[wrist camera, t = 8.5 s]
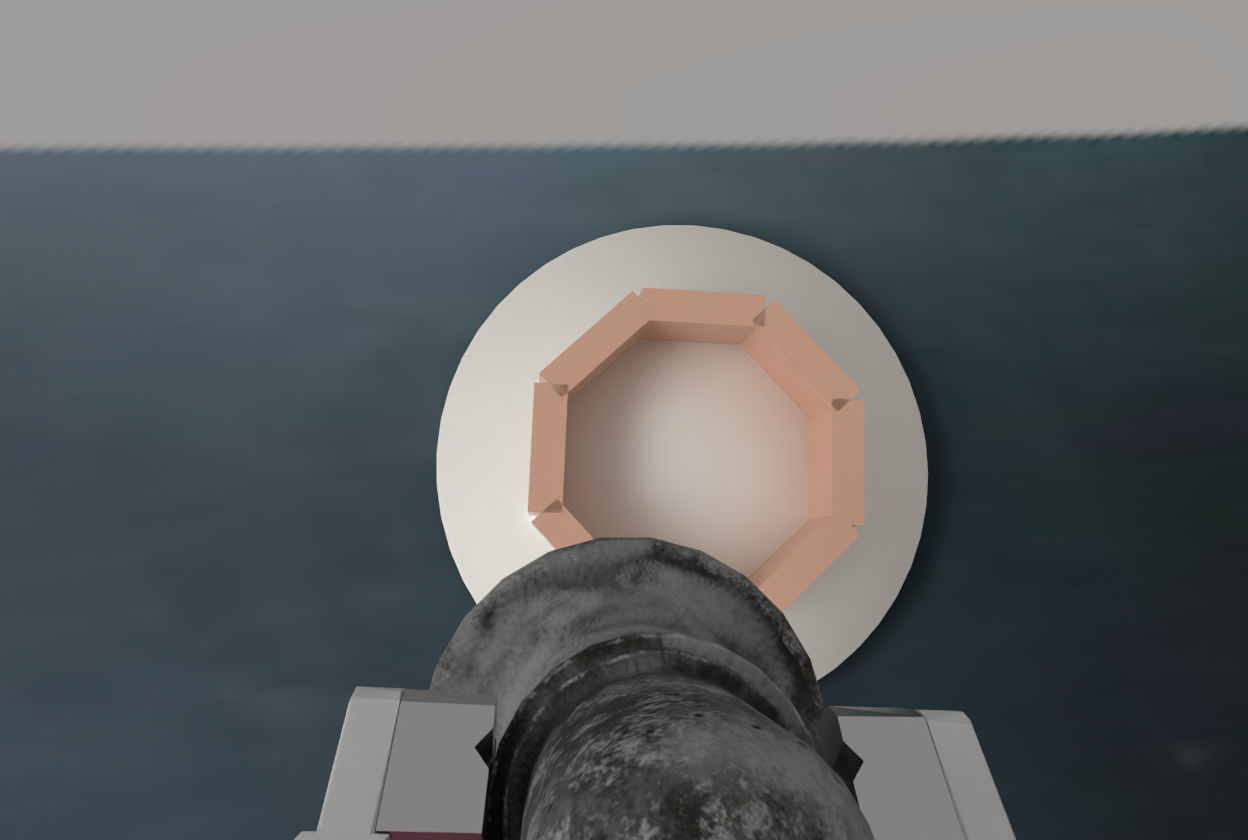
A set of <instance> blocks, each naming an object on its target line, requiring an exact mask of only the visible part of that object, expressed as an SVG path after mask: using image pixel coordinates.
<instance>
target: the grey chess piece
mask: <svg viewBox="0 0 1248 840" xmlns="http://www.w3.org/2000/svg"><path fill="white" fill-rule="evenodd" d="M429 690H431V691H447V692H464V693H480V694H496V695H497V723H496V734H495V738H496V739H497V744H496V757H495V761H494V765H493V769H492V773H491V777H490V780H489V808H488V817H487V836H488V838H487V840H875V839H874V836H873V833H872V831H871V828H870V826H869V823H868V822H867V820H866V818H865V816H864V815H863V813H862V811H861V810H860V808H859V806H858V804H857V803H856V801H855V799H854V798H853V796H852V794H851V793H850V791H849V789H848V787H847V786H846V784H845V782H844V781H843V779H842V778H841V777H840V776H839V775H838V774H837V773H836V772H835V771H834V770H833V769H832V768H831V767H830V766H829V765H828V764H827V763H826V762H825V761H824V760H823V759H822V758H821V757H820V756H819V755H818V753H817V750H816V746H817V745H818V744H820V743H821V739H820V735H819V730H818V724H819V721H820V718H821V716H822V713H823V711H824V710H825V707H824V703H823V700H822V696H821V693H820V690H819V686H818V683H817V679H816V676H815V673H814V669H813V666H812V662H811V659H810V657H809V656H808V654H807V652H806V651H805V649H804V647H803V646H802V644H801V642H800V641H799V639H798V637H797V635H796V634H795V632H794V630H793V629H792V627H791V625H790V624H789V622H788V620H787V619H786V617H785V615H784V614H783V612H781V611H780V610H779V609H778V608H777V607H776V606H775V605H774V604H773V603H772V602H771V601H770V600H769V599H768V598H767V597H766V596H765V595H764V594H763V593H762V592H761V591H760V590H759V589H758V588H757V587H756V586H755V585H754V584H753V583H752V582H751V581H750V580H749V579H748V578H747V577H746V576H744V575H743V574H741V573H739V572H737V571H736V570H734V569H732V568H731V567H729V566H727V565H725V564H724V563H722V562H720V561H718V560H717V559H715V558H713V557H711V556H710V555H708V554H706V553H704V552H703V551H701V550H697V549H693V548H689V547H685V546H682V545H678V544H674V543H670V542H667V541H663V540H659V539H655V538H651V537H641V538H597V539H593V540H589V541H586V542H582V543H579V544H575V545H571V546H568V547H564V548H561V549H557V550H553V551H550V552H547V553H546V554H544V555H542V556H541V557H539V558H537V559H536V560H534V561H532V562H530V563H529V564H527V565H525V566H524V567H522V568H520V569H519V570H517V571H515V572H513V573H512V574H510V575H508V576H507V577H505V578H503V579H502V580H501V581H500V582H499V583H498V584H497V585H496V586H495V587H494V588H493V589H492V590H491V591H490V592H489V593H488V594H487V595H486V596H485V597H484V598H483V599H482V600H481V601H480V602H479V603H478V604H477V605H476V606H475V607H474V608H473V609H472V610H471V611H470V612H469V613H468V614H467V615H466V616H465V617H464V619H463V620H462V622H461V624H460V625H459V627H458V629H457V631H456V632H455V634H454V636H453V637H452V639H451V641H450V643H449V644H448V646H447V648H446V649H445V651H444V653H443V655H442V656H441V658H440V660H439V661H438V663H437V665H436V668H435V671H434V675H433V678H432V682H431V685H430V689H429Z"/></svg>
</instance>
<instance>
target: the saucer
mask: <svg viewBox="0 0 1248 840" xmlns="http://www.w3.org/2000/svg"><path fill="white" fill-rule="evenodd" d="M927 485H928V466H927V452H926V441H925V436H924V431H923V426H922V421H921V416H920V411H919V409H918V406H917V403H916V400H915V397H914V394H913V391H912V388H911V385H910V382H909V380H908V378H907V376H906V374H905V371H904V369H903V367H902V365H901V363H900V361H899V359H898V357H897V355H896V353H895V351H894V350H893V348H892V347H891V345H890V344H889V342H888V341H887V339H886V337H885V336H884V334H883V333H882V331H881V330H880V328H879V327H878V326H877V324H876V323H875V322H874V321H873V320H872V318H871V317H870V316H869V315H868V314H867V312H866V311H865V310H864V309H863V308H862V306H861V305H860V304H859V303H858V302H857V301H856V300H855V299H854V298H853V297H852V296H851V295H849V294H848V293H847V292H846V291H845V290H844V289H843V288H842V287H841V286H840V285H839V284H838V283H837V282H835V281H834V280H833V279H831V278H830V277H828V276H827V275H826V274H824V273H823V272H822V271H820V270H819V269H817V268H816V267H815V266H813V265H812V264H810V263H809V262H807V261H805V260H803V259H801V258H800V257H798V256H796V255H794V254H792V253H791V252H789V251H787V250H785V249H783V248H781V247H778V246H776V245H773V244H771V243H768V242H766V241H763V240H761V239H758V238H756V237H752V236H748V235H744V234H741V233H737V232H733V231H729V230H725V229H718V228H710V227H703V226H695V225H662V226H654V227H646V228H638V229H631V230H627V231H623V232H619V233H615V234H612V235H608V236H604V237H601V238H598V239H596V240H593V241H591V242H588V243H586V244H583V245H581V246H578V247H576V248H573V249H572V250H570V251H568V252H566V253H564V254H563V255H561V256H559V257H557V258H556V259H554V260H552V261H550V262H548V263H547V264H545V265H544V266H542V267H541V268H540V269H538V270H537V271H536V272H534V273H533V274H532V275H530V276H529V277H528V278H526V279H525V280H524V281H522V282H521V283H520V284H519V285H518V286H517V287H516V288H515V289H514V290H513V291H512V292H511V293H510V294H509V295H508V296H507V297H506V298H505V299H504V300H503V301H502V302H501V303H500V304H499V305H498V306H497V307H496V308H495V310H494V311H493V312H492V313H491V315H490V316H489V317H488V318H487V320H486V321H485V322H484V324H483V325H482V326H481V327H480V329H479V330H478V332H477V333H476V335H475V337H474V338H473V340H472V342H471V344H470V345H469V347H468V349H467V350H466V352H465V354H464V355H463V357H462V359H461V362H460V364H459V366H458V369H457V371H456V374H455V376H454V378H453V381H452V383H451V385H450V388H449V392H448V395H447V399H446V403H445V406H444V410H443V414H442V417H441V423H440V431H439V438H438V446H437V490H438V497H439V505H440V512H441V519H442V522H443V526H444V530H445V533H446V537H447V541H448V544H449V548H450V551H451V553H452V556H453V558H454V560H455V563H456V565H457V568H458V570H459V572H460V575H461V577H462V579H463V581H464V583H465V585H466V587H467V588H468V590H469V592H470V593H471V595H472V597H473V598H474V600H475V602H476V604H478V603H479V602H480V601H481V600H482V599H483V598H484V597H485V596H486V595H487V594H488V593H489V592H490V591H491V590H492V589H493V588H494V587H495V586H496V585H497V584H498V583H499V582H500V581H501V580H502V579H503V578H505V577H507V576H508V575H510V574H512V573H513V572H515V571H517V570H519V569H520V568H522V567H524V566H525V565H527V564H529V563H530V562H532V561H534V560H536V559H537V558H539V557H541V556H542V555H544V554H546V553H547V552H550V551H553V550H557V549H561V548H564V547H568V546H571V545H575V544H579V543H582V542H586V541H589V540H593V539H597V538H641V537H651V538H655V539H659V540H663V541H667V542H670V543H674V544H678V545H682V546H685V547H689V548H693V549H697V550H701V551H703V552H704V553H706V554H708V555H710V556H711V557H713V558H715V559H717V560H718V561H720V562H722V563H724V564H725V565H727V566H729V567H731V568H732V569H734V570H736V571H737V572H739V573H741V574H743V575H744V576H746V577H747V578H748V579H749V580H750V581H751V582H752V583H753V584H754V585H755V586H756V587H757V588H758V589H759V590H760V591H761V592H762V593H763V594H764V595H765V596H766V597H767V598H768V599H769V600H770V601H771V602H772V603H773V604H774V605H775V606H776V607H777V608H778V609H779V610H780V611H781V612H783V614H784V615H785V617H786V619H787V620H788V622H789V624H790V625H791V627H792V629H793V630H794V632H795V634H796V635H797V637H798V639H799V641H800V642H801V644H802V646H803V647H804V649H805V651H806V652H807V654H808V656H809V657H810V659H811V662H812V666H813V669H814V673H815V676H816V679H817V680H819V679H820V678H822V677H823V676H825V675H826V674H828V673H829V672H831V671H832V670H834V669H835V668H836V667H837V666H838V665H840V664H841V663H842V662H843V661H844V660H845V659H846V658H847V657H849V656H850V655H851V654H852V653H853V652H854V651H855V650H856V649H858V648H859V647H860V645H861V644H862V643H863V642H864V641H865V640H866V638H867V637H868V636H869V635H870V634H871V633H872V631H873V630H874V629H875V628H876V627H877V626H878V624H879V623H880V622H881V620H882V619H883V617H884V616H885V614H886V612H887V611H888V609H889V608H890V606H891V605H892V603H893V602H894V600H895V599H896V597H897V595H898V593H899V591H900V589H901V587H902V585H903V583H904V581H905V579H906V576H907V574H908V572H909V570H910V568H911V565H912V562H913V559H914V556H915V553H916V550H917V547H918V544H919V540H920V537H921V532H922V527H923V521H924V516H925V511H926V504H927Z"/></svg>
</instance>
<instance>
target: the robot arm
mask: <svg viewBox="0 0 1248 840" xmlns="http://www.w3.org/2000/svg"><path fill="white" fill-rule="evenodd" d="M496 723H497V695H496V694H480V693H464V692H447V691H431V690H415V689H402V688H379V687H356V689H355V691H354V693H353V695H352V697H351V699H350V701H349V704H348V708H347V712H346V716H345V720H344V724H343V728H342V732H341V736H340V740H339V744H338V748H337V752H336V756H335V760H334V764H333V768H332V772H331V776H330V780H329V784H328V788H327V792H326V796H325V800H324V804H323V808H322V812H321V816H320V820H319V824H318V828H317V831H302V832H301V833H300V834H299V835H298V836H297V837H296V838H295V839H294V840H487V838H488V836H487V817H488V808H489V780H490V777H491V773H492V769H493V765H494V761H495V757H496V744H497V739H496V738H495V734H496ZM818 730H819V735H820V739H821V743H820V744H818V745H817V746H816V750H817V753H818V755H819V756H820V757H821V758H822V759H823V760H824V761H825V762H826V763H827V764H828V765H829V766H830V767H831V768H832V769H833V770H834V771H835V772H836V773H837V774H838V775H839V776H840V777H841V778H842V779H843V781H844V782H845V784H846V786H847V787H848V789H849V791H850V793H851V794H852V796H853V798H854V799H855V801H856V803H857V804H858V806H859V808H860V810H861V811H862V813H863V815H864V816H865V818H866V820H867V822H868V823H869V826H870V828H871V831H872V833H873V836H874V839H875V840H1016V838H1015V835H1014V833H1013V830H1012V828H1011V825H1010V822H1009V820H1008V817H1007V815H1006V812H1005V809H1004V807H1003V804H1002V801H1001V799H1000V796H999V794H998V791H997V788H996V786H995V783H994V781H993V778H992V775H991V773H990V770H989V767H988V765H987V762H986V760H985V757H984V754H983V752H982V749H981V747H980V744H979V741H978V739H977V736H976V733H975V731H974V728H973V726H972V723H971V721H970V719H969V718H968V717H967V716H966V715H965V714H964V713H963V712H960V711H945V710H915V709H913V708H884V707H842V706H829V707H828V708H827V709H825V710H824V711H823V713H822V716H821V718H820V721H819V724H818Z"/></svg>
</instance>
